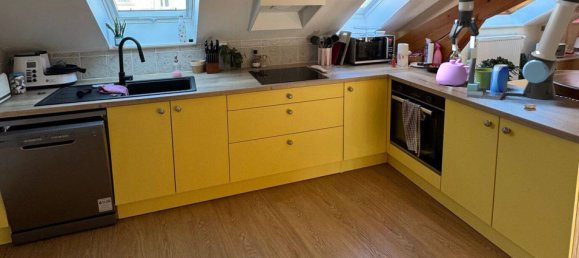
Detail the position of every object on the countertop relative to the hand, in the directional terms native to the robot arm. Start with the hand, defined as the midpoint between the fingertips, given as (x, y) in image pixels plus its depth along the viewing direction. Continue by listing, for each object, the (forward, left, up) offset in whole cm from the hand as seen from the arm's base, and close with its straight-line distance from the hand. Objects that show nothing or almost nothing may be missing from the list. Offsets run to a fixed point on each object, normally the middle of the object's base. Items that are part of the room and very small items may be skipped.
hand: (463, 49), depth 239 cm
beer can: (-19, -8, -25) cm, 33 cm away
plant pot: (-9, -19, -25) cm, 33 cm away
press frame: (-14, +2, -25) cm, 29 cm away
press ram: (-7, +2, -24) cm, 25 cm away
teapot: (+11, -25, -25) cm, 37 cm away
